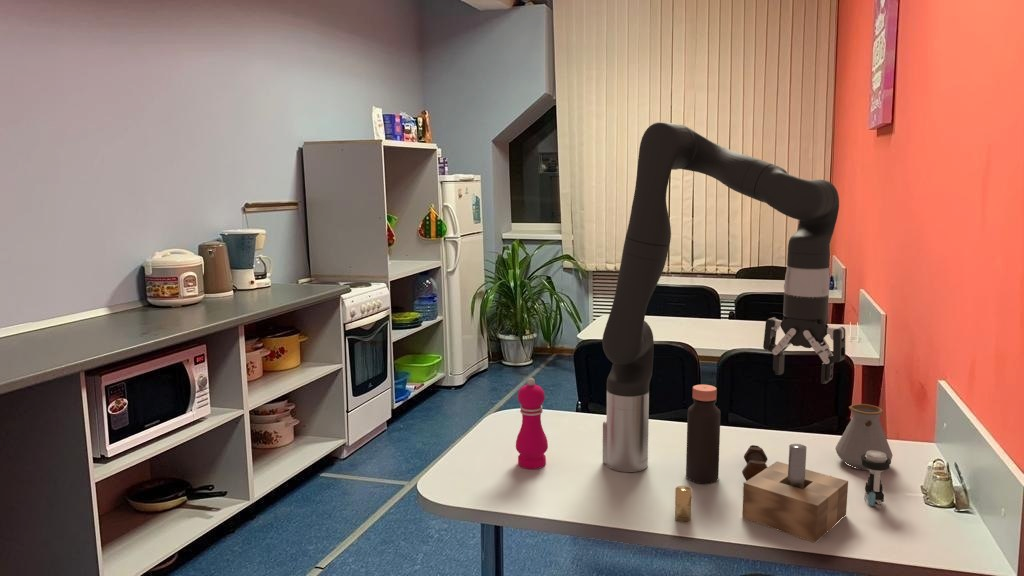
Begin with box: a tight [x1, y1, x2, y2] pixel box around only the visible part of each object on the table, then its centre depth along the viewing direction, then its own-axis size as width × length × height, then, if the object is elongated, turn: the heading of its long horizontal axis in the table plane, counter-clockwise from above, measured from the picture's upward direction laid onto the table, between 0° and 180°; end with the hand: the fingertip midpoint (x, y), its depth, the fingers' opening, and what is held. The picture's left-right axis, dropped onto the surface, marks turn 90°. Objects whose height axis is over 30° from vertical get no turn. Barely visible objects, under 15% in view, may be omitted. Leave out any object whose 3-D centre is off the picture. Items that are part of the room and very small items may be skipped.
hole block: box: [741, 460, 849, 543], centre depth 142 cm, size 14×14×7 cm
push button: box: [861, 450, 892, 510], centre depth 147 cm, size 7×5×10 cm
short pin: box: [674, 485, 693, 524], centre depth 142 cm, size 3×3×6 cm
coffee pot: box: [835, 403, 893, 472], centre depth 161 cm, size 21×12×15 cm, turn 156°
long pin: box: [787, 443, 807, 489], centre depth 142 cm, size 3×3×14 cm
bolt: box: [741, 444, 769, 482], centre depth 163 cm, size 6×5×15 cm
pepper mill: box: [515, 377, 549, 470], centre depth 168 cm, size 7×7×20 cm
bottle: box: [685, 384, 721, 485], centre depth 159 cm, size 7×7×20 cm
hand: (801, 378), depth 138 cm, fingers open, 8 cm apart
